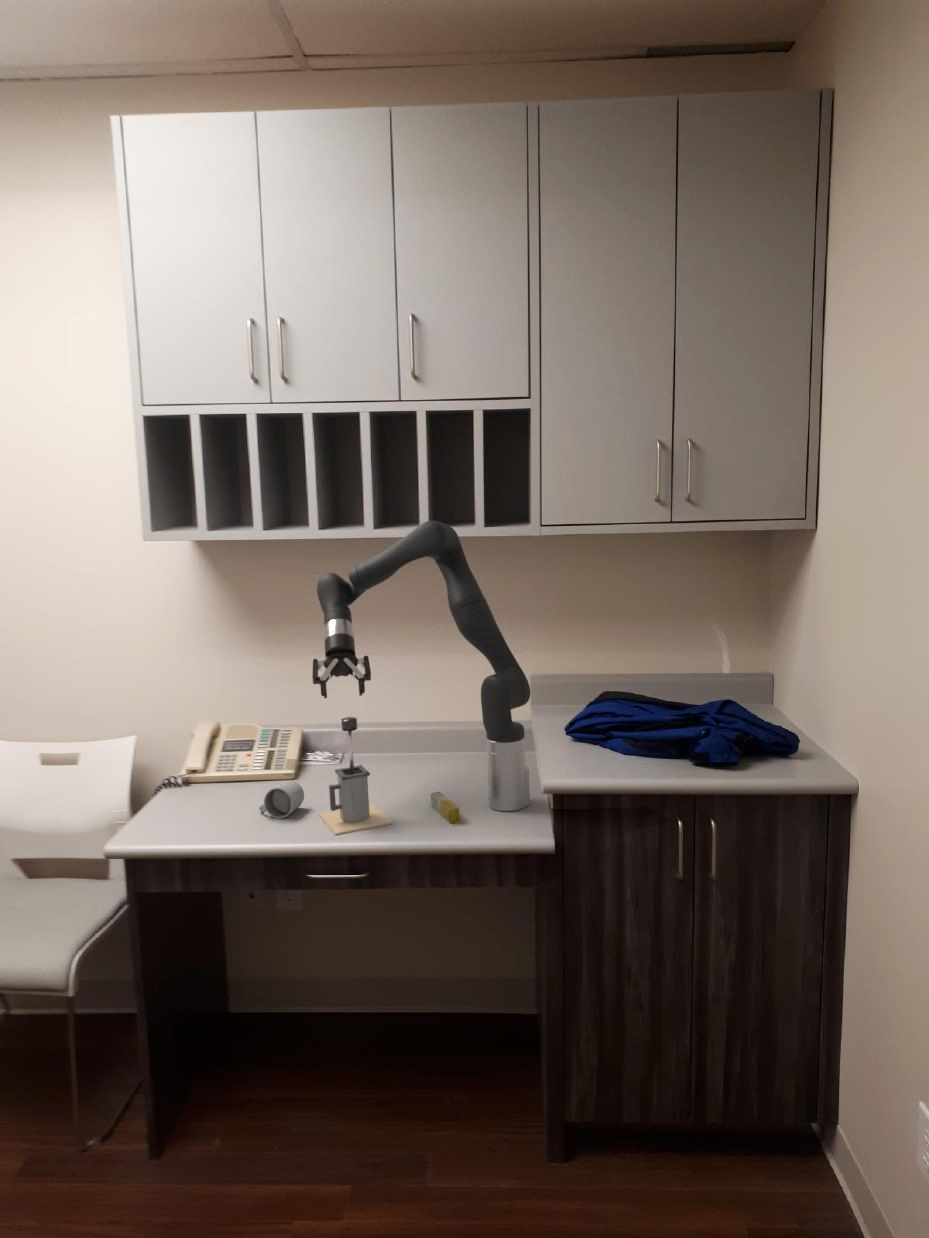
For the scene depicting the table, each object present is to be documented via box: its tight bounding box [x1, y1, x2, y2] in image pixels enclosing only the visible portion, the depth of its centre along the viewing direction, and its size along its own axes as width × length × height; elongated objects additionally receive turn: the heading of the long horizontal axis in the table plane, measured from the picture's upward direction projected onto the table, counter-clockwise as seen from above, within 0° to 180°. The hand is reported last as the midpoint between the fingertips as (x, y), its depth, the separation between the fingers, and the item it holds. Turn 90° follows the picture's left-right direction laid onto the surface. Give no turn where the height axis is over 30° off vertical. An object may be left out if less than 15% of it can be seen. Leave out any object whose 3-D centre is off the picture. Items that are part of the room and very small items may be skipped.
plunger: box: [340, 716, 358, 775], centre depth 213 cm, size 4×4×14 cm
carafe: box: [318, 764, 393, 836], centre depth 215 cm, size 14×14×12 cm
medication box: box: [430, 791, 461, 825], centre depth 217 cm, size 12×3×4 cm, turn 24°
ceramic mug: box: [258, 780, 305, 819], centre depth 222 cm, size 11×8×8 cm
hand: (343, 695), depth 219 cm, fingers open, 8 cm apart
